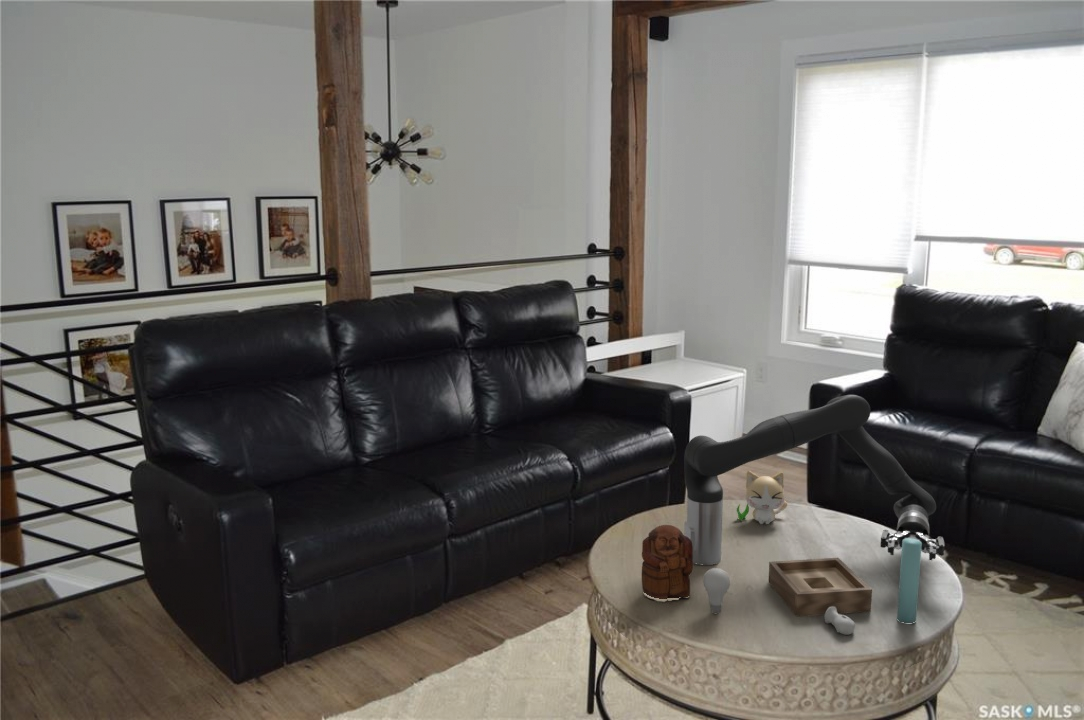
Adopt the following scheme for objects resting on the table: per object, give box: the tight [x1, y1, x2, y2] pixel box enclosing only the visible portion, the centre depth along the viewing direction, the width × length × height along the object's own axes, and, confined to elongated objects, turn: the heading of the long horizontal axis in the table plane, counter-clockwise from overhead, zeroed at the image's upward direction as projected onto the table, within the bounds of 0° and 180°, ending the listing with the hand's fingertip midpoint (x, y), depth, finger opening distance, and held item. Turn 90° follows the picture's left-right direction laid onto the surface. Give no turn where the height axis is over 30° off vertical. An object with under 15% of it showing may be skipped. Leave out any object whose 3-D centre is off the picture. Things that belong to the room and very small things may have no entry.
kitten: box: [736, 470, 788, 525], centre depth 261 cm, size 15×10×15 cm, turn 81°
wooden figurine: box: [641, 524, 694, 599], centre depth 214 cm, size 12×6×18 cm, turn 98°
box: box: [768, 557, 873, 617], centre depth 214 cm, size 18×18×6 cm
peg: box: [896, 538, 922, 624], centre depth 201 cm, size 4×4×19 cm
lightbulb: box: [702, 567, 731, 614], centre depth 206 cm, size 6×6×11 cm
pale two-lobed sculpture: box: [824, 607, 856, 636], centre depth 199 cm, size 4×8×5 cm
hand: (911, 554), depth 210 cm, fingers open, 8 cm apart
